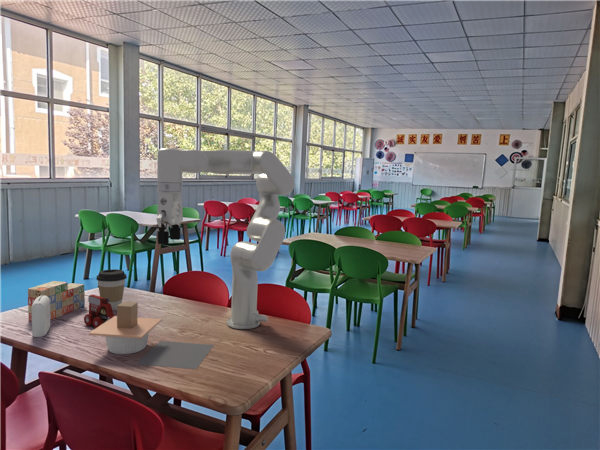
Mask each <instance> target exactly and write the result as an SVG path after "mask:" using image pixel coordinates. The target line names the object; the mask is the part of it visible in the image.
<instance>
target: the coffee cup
mask: <svg viewBox="0 0 600 450" xmlns="http://www.w3.org/2000/svg"><path fill="white" fill-rule="evenodd" d="M127 278H128V277H127V274H126V273H125V271H124V270H123V269H117V268H115V269H114V268H113V269H111V268H110V269H105V270H100V271H99V272H98V274H97V275H96V279H95V280H97V284H98V293H99V296H100V297H103V298H108V299H109V302H108V303H110V304H111V306H112V310H113V311H117V305H119V304H121V303H122V302H123V298H124V290H125V283H126V279H127Z"/></svg>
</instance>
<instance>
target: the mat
mask: <svg viewBox="0 0 600 450" xmlns="http://www.w3.org/2000/svg"><path fill="white" fill-rule="evenodd" d="M214 345H215V344H206V343H205V344H204V343H193V342H180V341H169V340H168V341H166V340H159V342H157V344H155V345H154V346H153V347H152V348H151V349H150V350H149V351H148V352H147V353H146V354H145V355H143V357H142V358H140V359H139V360H138V361H137V362H136V363H135V365H141V366H153V367H165V368H174V369H175V368H177V369H188V370H189V369H191V370H197V369H198V368H199V366H200V365H201V363H202V362H203V361H204V359H205V358H206V356H207V355H209V353H210V351H211V350H212V348H213V347H214Z"/></svg>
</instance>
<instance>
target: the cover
mask: <svg viewBox="0 0 600 450" xmlns="http://www.w3.org/2000/svg"><path fill="white" fill-rule="evenodd" d="M138 306H139V305H138V301H137V302H135V301H122V303H121V304H119V305H117V310H116V315H115V316H114V317H112V318H111V319H109V320H108V321H106V322H105V323H103V324H102V325H100V326H99V327H97V328H94V329H92V330H91V331H89V332H88V335H89V336H96V337H97V336H100V337H106V336H111V337H125V338H140V339H142V338H143V337H144V336H145V335H146V334H147V333H148V332H149V333H150V332H151V331H152V330H153V329H155V327H157V326H158V325H159V324H160V323H161V322H162V321H163V320H162V318H151V317H138V311H139V310H138V309H139V307H138Z"/></svg>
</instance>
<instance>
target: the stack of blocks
mask: <svg viewBox="0 0 600 450" xmlns="http://www.w3.org/2000/svg"><path fill="white" fill-rule="evenodd" d="M85 293H86V292H85V284H83V283H72V282H71V283H69V282H67V281H66V282H65V281H59V280H58V281H57V280H52V281H48V282H46V283H42V284H38V285H36V286H33V287H29V288H27V305H28V306H27V307H28V321H29V322H32V304H33V302H34V301H35V299H36V298H37V297H39V296H47V297H48V298H49V299H50V321H51V320H54V319H56V318H58V317H61V316H63V315H66V314H68V313H70V312H74V311H76V310H79V309H81V308H83V307H85V304H86V303H85V302H86V301H85V299H86V298H85V297H86V296H85V295H86V294H85Z"/></svg>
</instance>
